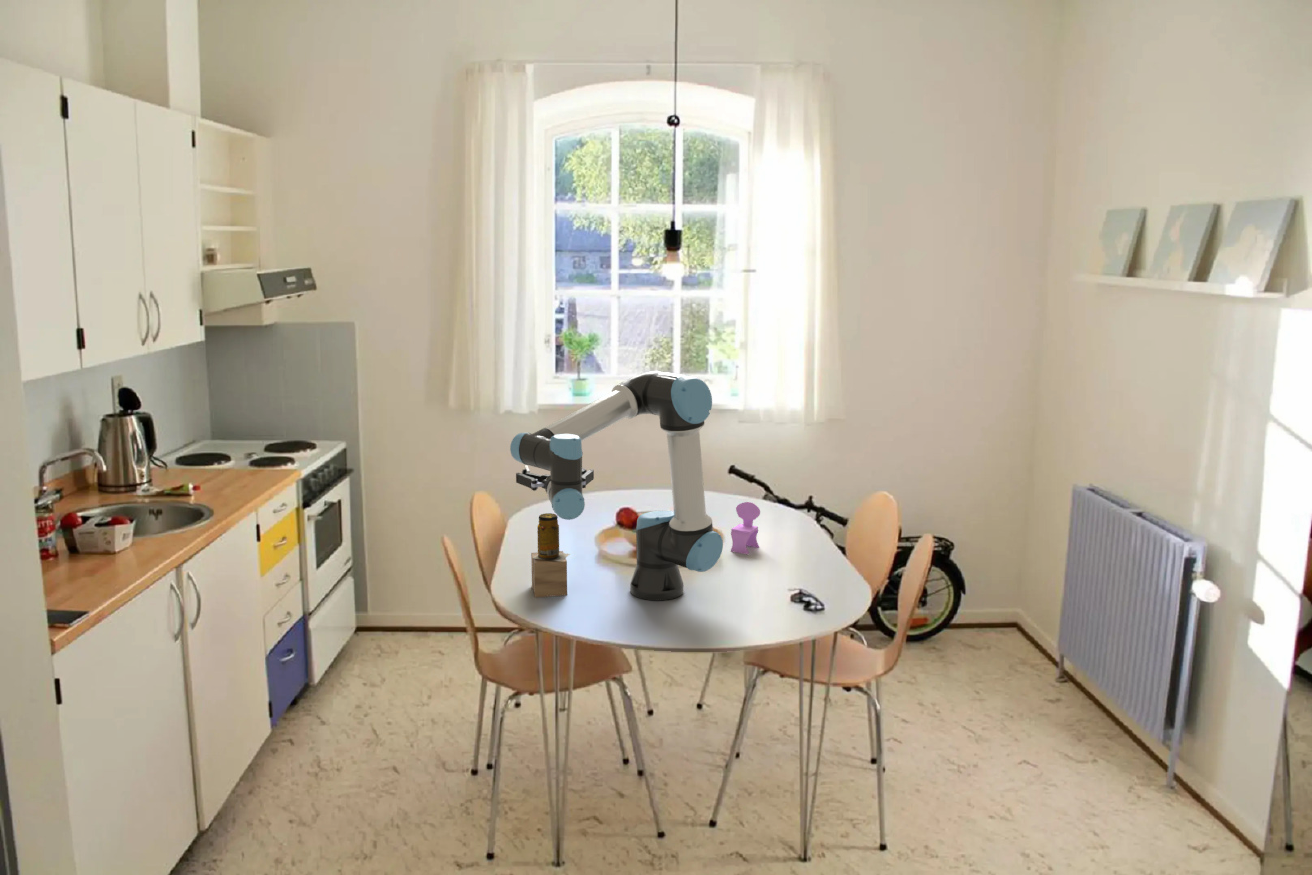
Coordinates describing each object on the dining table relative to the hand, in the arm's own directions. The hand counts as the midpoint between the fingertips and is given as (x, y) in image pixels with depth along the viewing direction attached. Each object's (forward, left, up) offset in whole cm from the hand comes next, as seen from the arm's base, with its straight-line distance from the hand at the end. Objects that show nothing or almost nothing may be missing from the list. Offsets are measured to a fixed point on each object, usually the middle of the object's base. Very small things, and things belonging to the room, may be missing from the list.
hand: (551, 468), depth 283 cm
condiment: (-9, -4, -28) cm, 30 cm away
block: (-8, -5, -38) cm, 39 cm away
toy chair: (-63, +39, -38) cm, 83 cm away
